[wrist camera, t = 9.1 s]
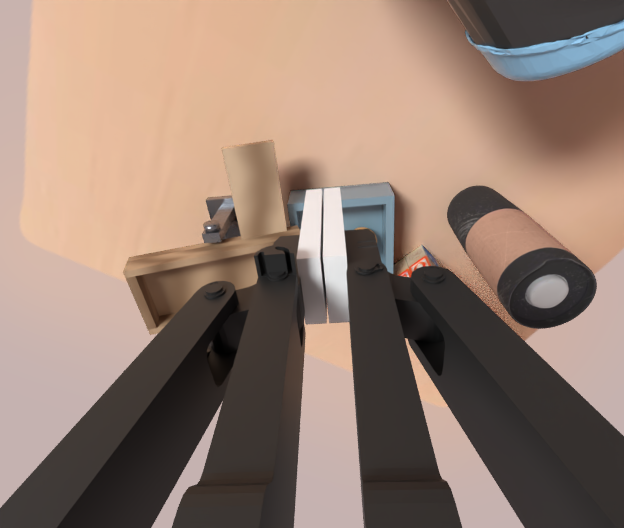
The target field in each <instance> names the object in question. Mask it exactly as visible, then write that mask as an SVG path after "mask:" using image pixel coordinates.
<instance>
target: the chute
mask: <svg viewBox="0 0 624 528" xmlns="http://www.w3.org/2000/svg"><path fill="white" fill-rule="evenodd" d="M222 154H223V158H224V163H225V167H226V171H227V176H228V180H229V185H230V189H231V194H232V198H233V203H234V207H235V212H236V216H237V221H238V225H239V230H240V234H241V236H239V237H233V238H228V239H223V240H222V242H216V243H202V244H197V245H191V246H186V247H181V248H176V249H170V250H165V251H160V252H155V253H149V254H144V255H139V256H134V257H129V259H128V261H127V264H126V266H125V268H124V271H123V273H124V275H125V278H126V280H127V282H128V285H129V287H130V289H131V291H132V294H133V296H134V299H135V301H136V303H137V306H138V308H139V310H140V312H141V315H142V317H143V319H144V322H145V324H146V326H147V329H148V331H149V333H150V335H152V334H156V333H159V332H160V331H161V330H162V329H163V328H164V327H165V326H166V325H167V323H168V322H169V321H170V320H171V319H172V318H173V317H174V316H175V315H176V313H177V312H178V311H179V310H180V309H181V308H182V307H183V306H184V305H185V304H186V302H187V301H188V300H189V299H190V298H191V297H192V296H193V295H194V294H195V293H196V291H197V290H199V289H200V288H201V287H202V286H204V285H206V284H208V283H211V282H215V281H227V282H231V283H232V284H234V286H235V290H239V289H243V288H246V287H249V286H252V285H254V284H256V283H257V279H258V274H257V269H256V265H255V260H254V255H255V253H256V252H257V251H259V250H260V249H262V248H265V247H267V246H272V245H273V244H274V242H275V241H276V240H277V239H278V238H279V237H280V236H290V235H300V229H299V227H298V225H296V226H291V227H286V221H285V214H284V208H283V201H282V194H281V188H280V181H279V174H278V168H277V161H276V154H275V148H274V142H273V140H269V141H262V142H256V143H249V144H243V145H236V146H229V147H223V148H222Z"/></svg>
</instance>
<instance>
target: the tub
mask: <svg viewBox="0 0 624 528" xmlns="http://www.w3.org/2000/svg"><path fill="white" fill-rule="evenodd" d="M338 187H340V192H341V203H342V213H343V224H344V230H354V229H356V228H359V227H366V228H369V229H371V230H372V231H373V232H374V233H375V235H376V237H377V247H378V250H379V254H380V257H381V261H382V263H383V264H384V265H385V266H386V268H387V271H388V272H390V273H392V274H393V258H394V193H393V191H392V189H391V187H390V185H389V182H385V183H373V184H362V185H350V186H338ZM327 188H336V187H327ZM315 189H322V194H323V205H324V188H315ZM306 190H313V189H303V190H292V191H291V192H290V196H289V200H288V204H287V206H288V213H289V220H290V227H291V226H296V225H298V227H299V229H300V230H301V223H302V216H303V209H304V202H305V195H306Z"/></svg>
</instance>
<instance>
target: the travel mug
mask: <svg viewBox="0 0 624 528" xmlns="http://www.w3.org/2000/svg"><path fill="white" fill-rule="evenodd" d="M447 218H448V222H449V224H450V226H451V228H452V230H453V231H454V233H455V235H456V236H457V238H458V240H459V241H460V243H461V245H462V246H463V248H464V250H465V251H466V253H467V255H468V256H469V258H470V259H471V261H472V262H473V263H474V265H475V266H476V268H477V269H478V270H479V272H480V273H481V275H482V276H483V278H484V279H485V280H486V282H487V283H488V285H489V286H490V288H491V289H492V290H493V292H494V293H495V295H496V296H497V297H498V299H499V300H500V302H501V303H502V305H503V306H504V307H505V309H506V310H507V312H508V313H509V314H510V316H511V317H512V318H513V319H514V320H515V321H516V322H518V323H519V324H521V325H523V326H526V327H530V328H538V329H541V328H550V327H555V326H558V325H561V324H564V323H566V322H568V321H570V320H572V319H574V318H575V317H577V316H578V315H579V314H580V313H582V312H583V311H584V310H585V309H586V308H587V307H588V306H589V304H590V303H591V301H592V300H593V298H594V296H595V293H596V287H597V283H596V279H595V276H594V274H593V272H592V271H591V270H590V269H589V268H588V267H587V266H586V265H585V264H584V263H583V262H582V261H580V260H579V259H578V258H577V257H576V256H575V255H573V254H572V253H571V252H570V251H569V250H568V249H566V248H565V247H564V246H563V245H562V244H561V243H560V242H558V241H557V240H556V239H555V238H554V237H553V236H551V235H550V234H549V233H548V232H547V231H546V230H545V229H543V228H542V227H541V226H540V225H539V224H538V223H536V222H535V221H534V220H533V219H532V218H531V217H529V216H528V215H527V214H526V213H524V212H523V211H522V210H520V209H519V208H518V207H516V206H515V205H514V204H512V203H511V202H510V201H508V200H507V199H506V198H504V197H503V196H502V195H500V194H499V193H498V192H496V191H495V190H493V189H491V188H489V187H486V186H473V187H469V188H467V189H465V190H463V191H461V192H460V193H458V194H457V195H456V196H455V197H454V198H453V200H452V201H451V203H450V205H449V207H448V212H447Z"/></svg>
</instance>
